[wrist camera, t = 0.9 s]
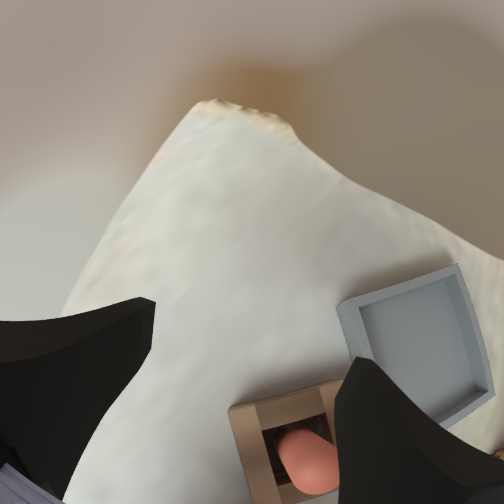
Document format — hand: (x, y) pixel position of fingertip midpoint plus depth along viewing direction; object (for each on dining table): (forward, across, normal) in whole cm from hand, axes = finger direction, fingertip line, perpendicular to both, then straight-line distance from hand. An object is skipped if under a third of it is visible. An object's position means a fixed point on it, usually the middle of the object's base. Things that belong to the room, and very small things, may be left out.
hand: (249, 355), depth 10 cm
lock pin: (+7, -5, +12) cm, 15 cm away
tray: (+12, -14, +5) cm, 20 cm away
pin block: (+7, -5, +12) cm, 15 cm away
